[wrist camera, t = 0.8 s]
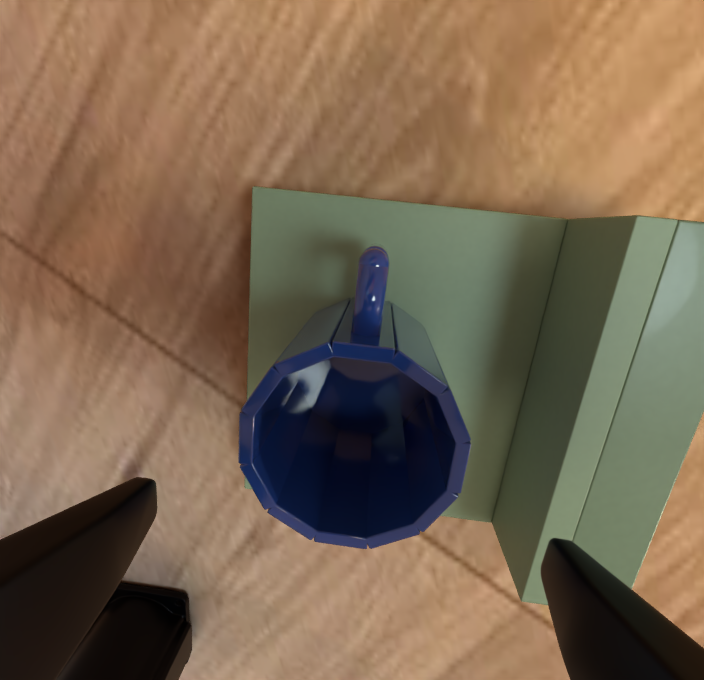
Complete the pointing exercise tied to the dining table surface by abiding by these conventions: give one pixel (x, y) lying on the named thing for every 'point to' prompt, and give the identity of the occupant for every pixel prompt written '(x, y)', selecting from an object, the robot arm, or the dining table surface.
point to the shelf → (519, 352)
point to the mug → (356, 423)
